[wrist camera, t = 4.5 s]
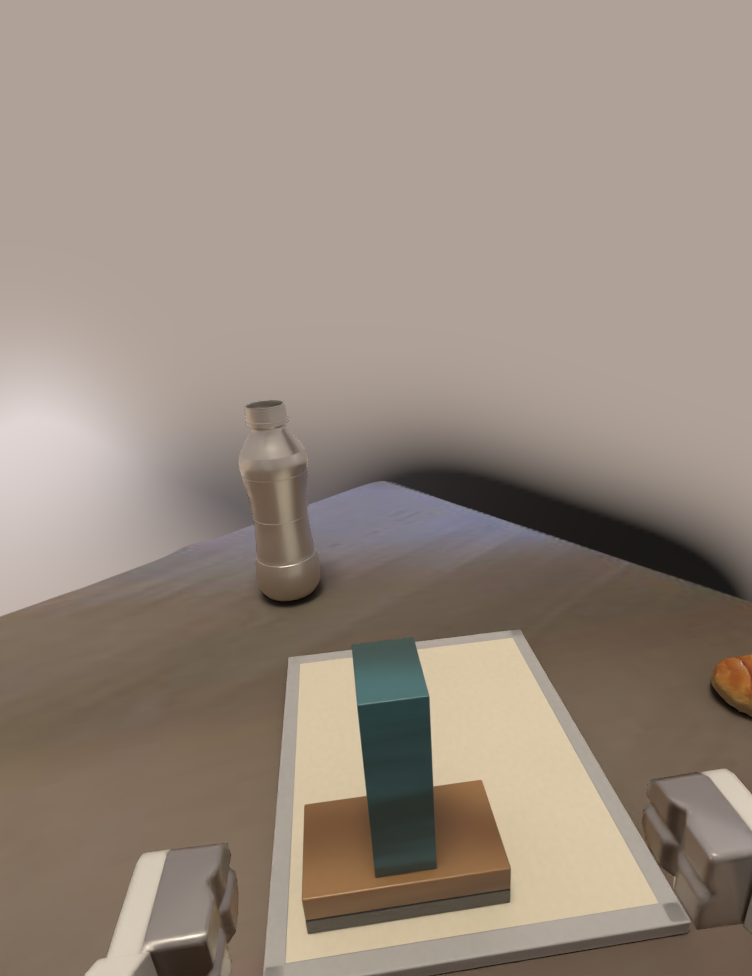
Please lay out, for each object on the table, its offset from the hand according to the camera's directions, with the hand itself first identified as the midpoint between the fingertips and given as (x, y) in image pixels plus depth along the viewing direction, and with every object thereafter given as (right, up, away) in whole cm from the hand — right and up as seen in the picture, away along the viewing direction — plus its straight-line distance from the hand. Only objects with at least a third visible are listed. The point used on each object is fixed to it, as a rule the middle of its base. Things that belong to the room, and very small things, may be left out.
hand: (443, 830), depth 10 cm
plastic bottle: (-10, -5, +46) cm, 47 cm away
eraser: (0, -14, +18) cm, 23 cm away
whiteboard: (+2, -12, +25) cm, 28 cm away
